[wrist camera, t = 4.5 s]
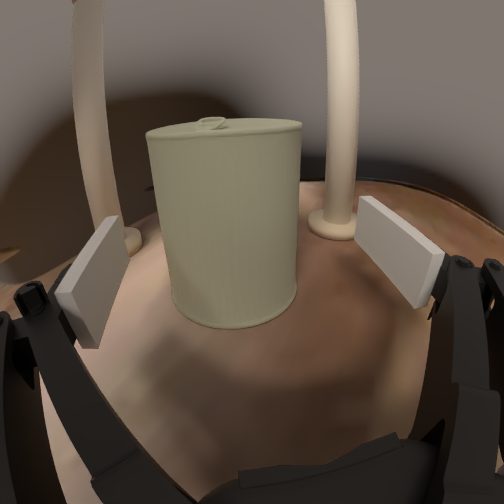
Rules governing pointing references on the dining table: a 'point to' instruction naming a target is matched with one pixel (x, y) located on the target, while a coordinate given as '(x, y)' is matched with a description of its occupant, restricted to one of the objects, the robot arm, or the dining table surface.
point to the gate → (339, 120)
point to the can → (229, 216)
